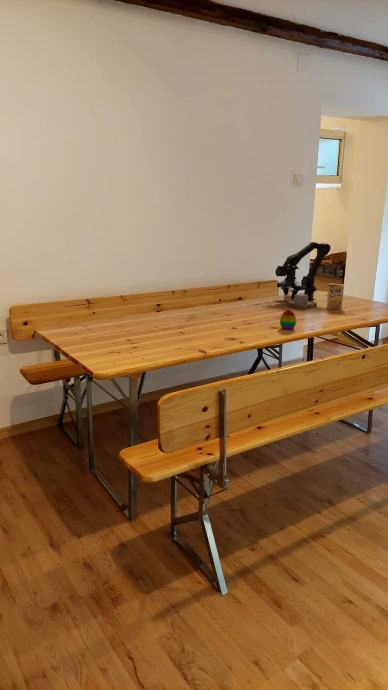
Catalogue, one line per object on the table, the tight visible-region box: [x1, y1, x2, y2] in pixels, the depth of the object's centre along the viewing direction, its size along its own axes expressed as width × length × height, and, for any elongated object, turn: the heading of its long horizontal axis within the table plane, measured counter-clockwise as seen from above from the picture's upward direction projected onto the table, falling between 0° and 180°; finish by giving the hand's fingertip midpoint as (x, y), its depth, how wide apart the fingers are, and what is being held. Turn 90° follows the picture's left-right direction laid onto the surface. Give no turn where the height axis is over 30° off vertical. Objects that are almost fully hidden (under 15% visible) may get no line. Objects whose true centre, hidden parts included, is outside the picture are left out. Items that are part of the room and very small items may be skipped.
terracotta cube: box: [283, 293, 294, 302], centre depth 338 cm, size 5×5×4 cm
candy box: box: [326, 283, 345, 311], centre depth 315 cm, size 9×4×15 cm, turn 70°
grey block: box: [294, 293, 309, 304], centre depth 319 cm, size 6×6×5 cm
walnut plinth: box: [284, 301, 318, 311], centre depth 320 cm, size 14×14×2 cm
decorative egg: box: [279, 309, 297, 331], centre depth 264 cm, size 8×8×10 cm
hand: (289, 299), depth 339 cm, fingers closed on terracotta cube, 5 cm apart
